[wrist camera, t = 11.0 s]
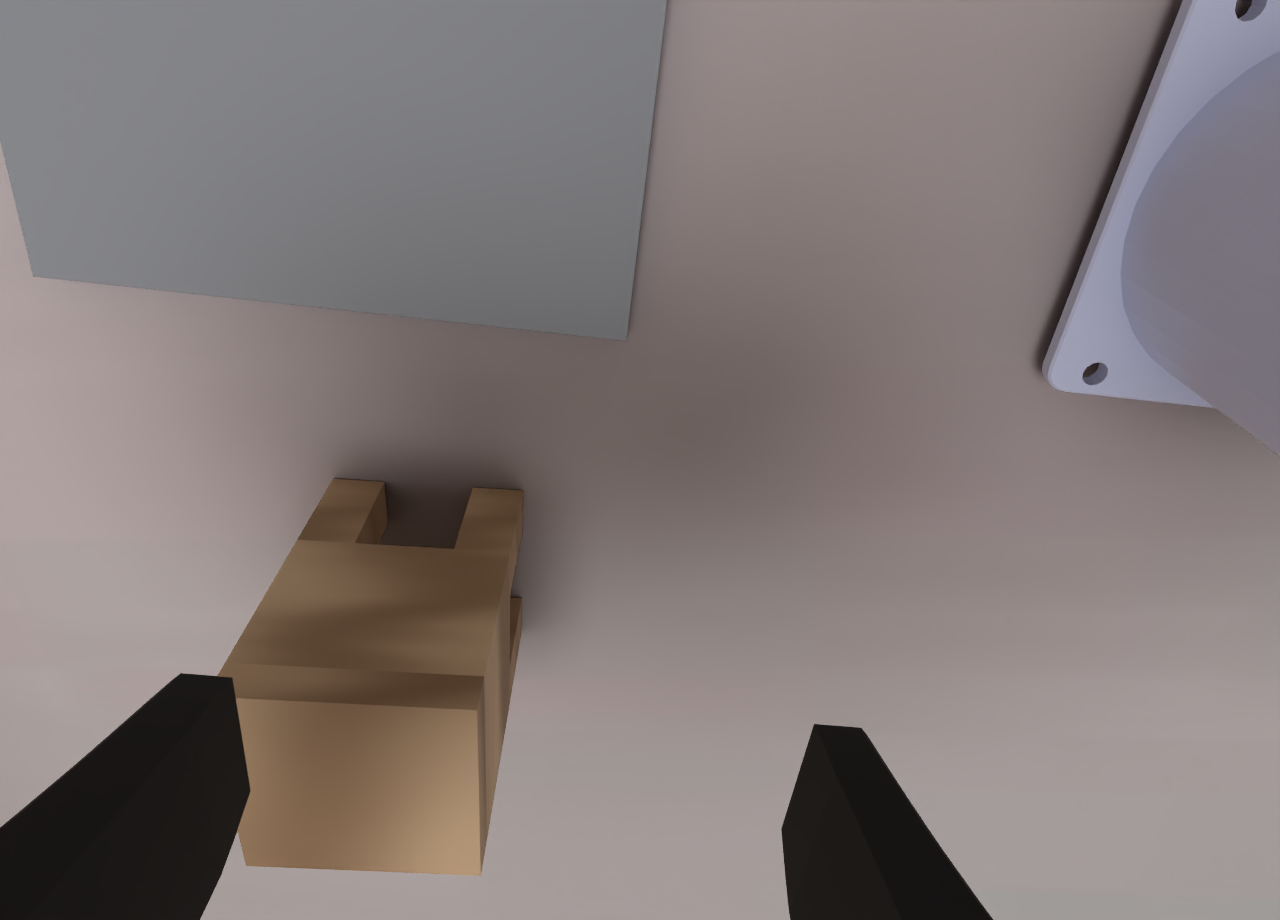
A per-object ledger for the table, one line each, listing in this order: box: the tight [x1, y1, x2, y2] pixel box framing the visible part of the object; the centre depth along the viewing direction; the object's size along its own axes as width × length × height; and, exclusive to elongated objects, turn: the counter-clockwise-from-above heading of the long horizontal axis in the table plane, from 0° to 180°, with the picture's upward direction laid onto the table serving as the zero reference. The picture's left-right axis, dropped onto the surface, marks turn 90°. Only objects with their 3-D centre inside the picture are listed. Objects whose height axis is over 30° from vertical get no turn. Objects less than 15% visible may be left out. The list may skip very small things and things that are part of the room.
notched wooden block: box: [218, 479, 523, 876], centre depth 18 cm, size 4×4×7 cm
